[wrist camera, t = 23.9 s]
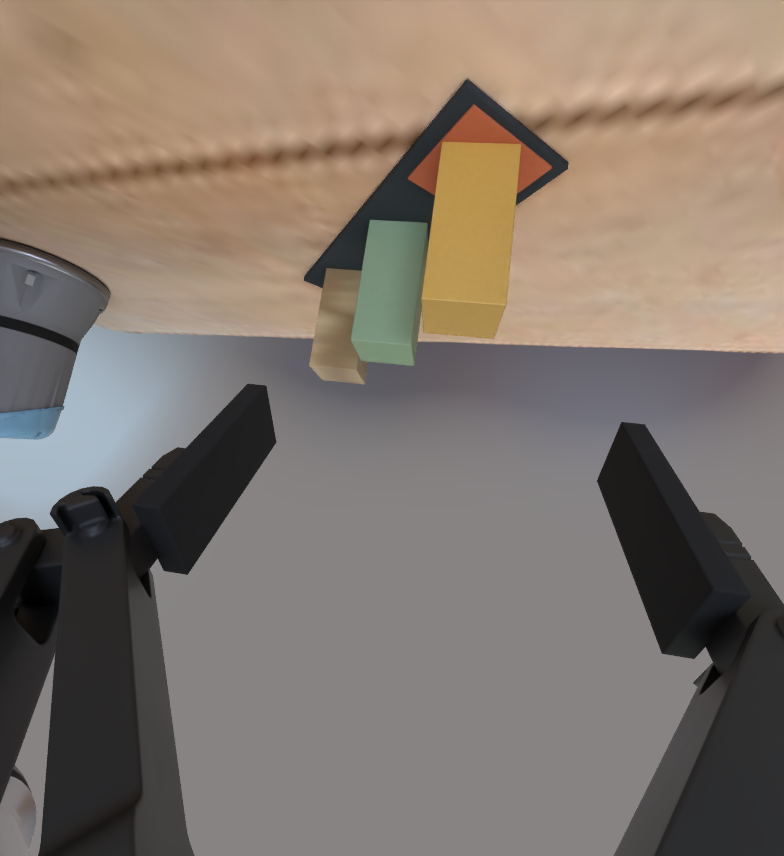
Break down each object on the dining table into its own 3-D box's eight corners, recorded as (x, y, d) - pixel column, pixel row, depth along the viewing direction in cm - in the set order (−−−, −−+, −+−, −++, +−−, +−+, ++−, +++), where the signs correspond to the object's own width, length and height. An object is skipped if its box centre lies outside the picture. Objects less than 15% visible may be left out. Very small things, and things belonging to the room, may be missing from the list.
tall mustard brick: (440, 199, 31) (423, 333, 29) (441, 140, 26) (421, 298, 24) (506, 202, 30) (493, 339, 29) (521, 143, 25) (506, 305, 24)
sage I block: (377, 255, 40) (361, 361, 38) (369, 219, 35) (350, 339, 33) (428, 258, 39) (414, 366, 37) (427, 222, 34) (411, 345, 32)
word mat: (372, 303, 51) (371, 309, 51) (304, 276, 47) (303, 282, 47) (568, 162, 27) (568, 171, 27) (467, 78, 23) (466, 88, 23)
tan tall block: (337, 292, 48) (322, 380, 46) (326, 267, 43) (308, 365, 41) (378, 295, 48) (364, 384, 46) (372, 270, 43) (356, 370, 41)
